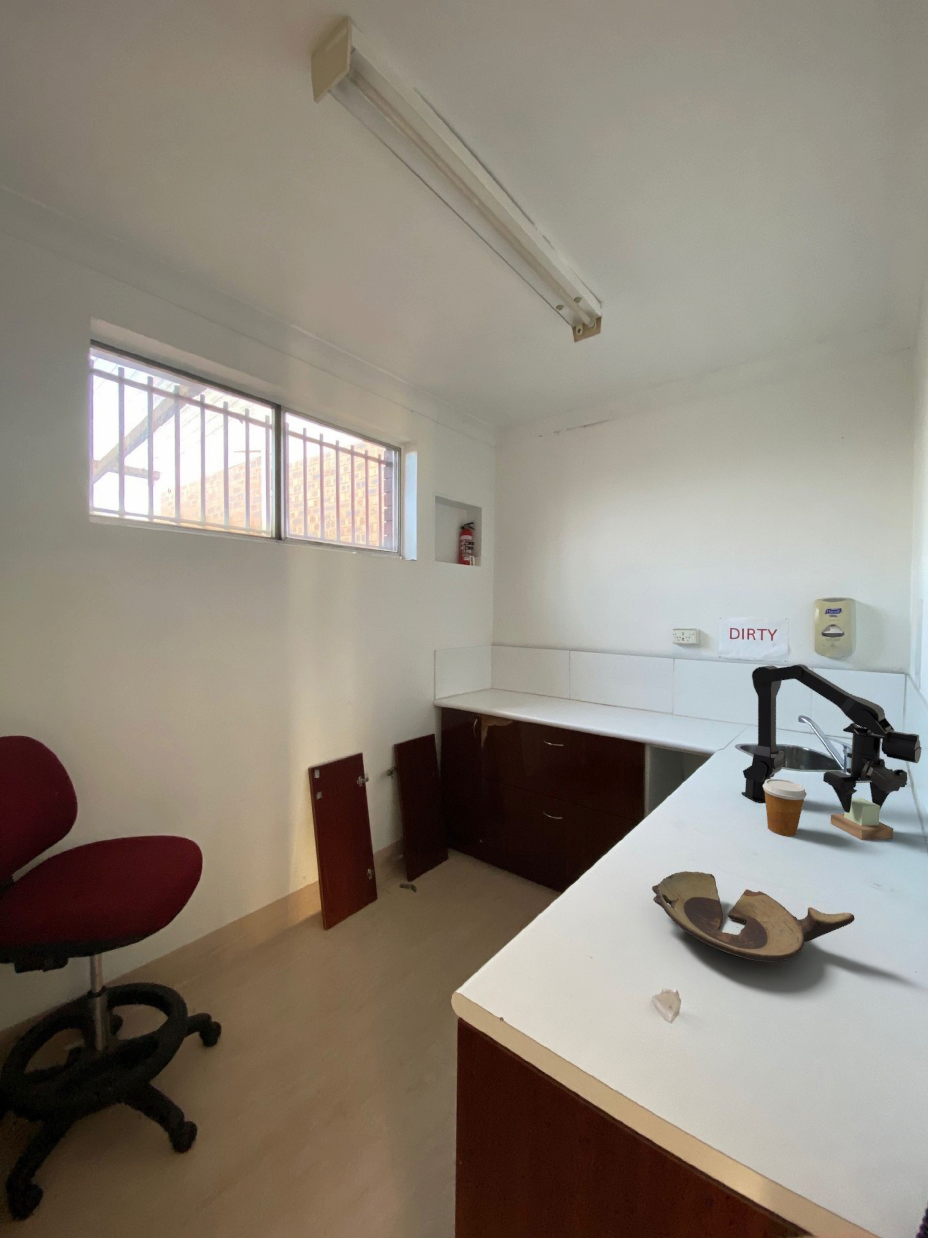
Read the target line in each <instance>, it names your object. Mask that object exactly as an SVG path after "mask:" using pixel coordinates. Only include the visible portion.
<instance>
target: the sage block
mask: <svg viewBox="0 0 928 1238" xmlns="http://www.w3.org/2000/svg"><path fill="white" fill-rule="evenodd" d="M880 811H881V809H880V806H879V805H877V804H875V803H872V801H871V800H868V799H866V798H863V797H852V801H851V808H850V812H849V813H847V812H845V811H844V813H843V814H844V817H845V818H847V819H849V820H851V821H853V822H855V823H857V824H859V825H861V826H869V825H879V822H880Z"/></svg>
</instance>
